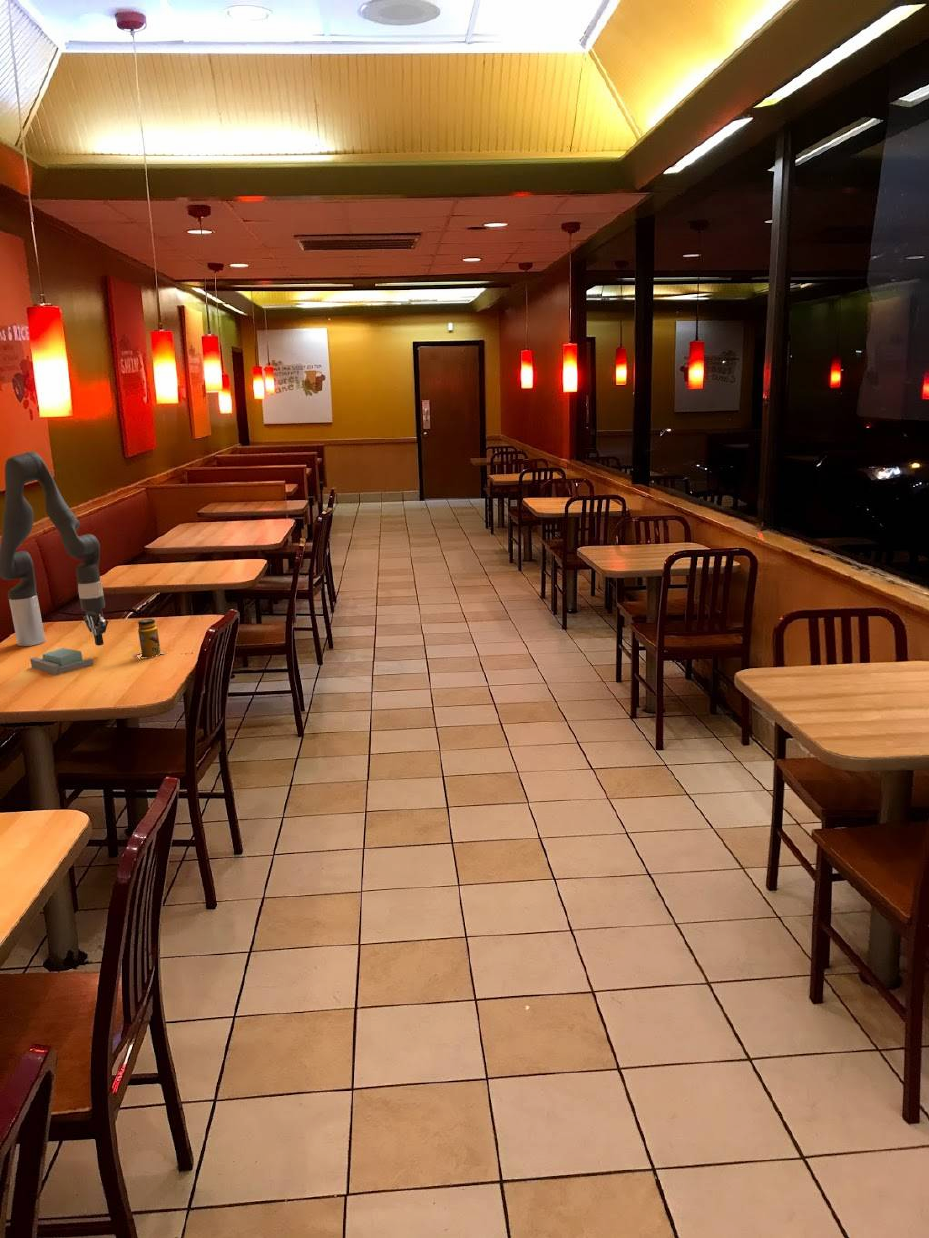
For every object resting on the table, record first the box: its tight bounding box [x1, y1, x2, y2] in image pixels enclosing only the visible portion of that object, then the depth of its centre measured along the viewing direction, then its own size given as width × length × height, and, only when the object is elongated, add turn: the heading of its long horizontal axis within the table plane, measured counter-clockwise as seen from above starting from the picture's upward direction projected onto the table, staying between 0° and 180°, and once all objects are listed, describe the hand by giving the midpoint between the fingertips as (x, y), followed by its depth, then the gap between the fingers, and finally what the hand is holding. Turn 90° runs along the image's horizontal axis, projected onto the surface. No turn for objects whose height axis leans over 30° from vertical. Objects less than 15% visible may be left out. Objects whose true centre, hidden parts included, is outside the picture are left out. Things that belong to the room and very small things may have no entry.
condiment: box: [133, 618, 164, 661], centre depth 308 cm, size 7×8×12 cm
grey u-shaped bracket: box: [29, 656, 94, 676], centre depth 302 cm, size 16×13×3 cm
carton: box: [41, 647, 84, 667], centre depth 301 cm, size 10×8×5 cm
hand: (99, 644), depth 312 cm, fingers closed
